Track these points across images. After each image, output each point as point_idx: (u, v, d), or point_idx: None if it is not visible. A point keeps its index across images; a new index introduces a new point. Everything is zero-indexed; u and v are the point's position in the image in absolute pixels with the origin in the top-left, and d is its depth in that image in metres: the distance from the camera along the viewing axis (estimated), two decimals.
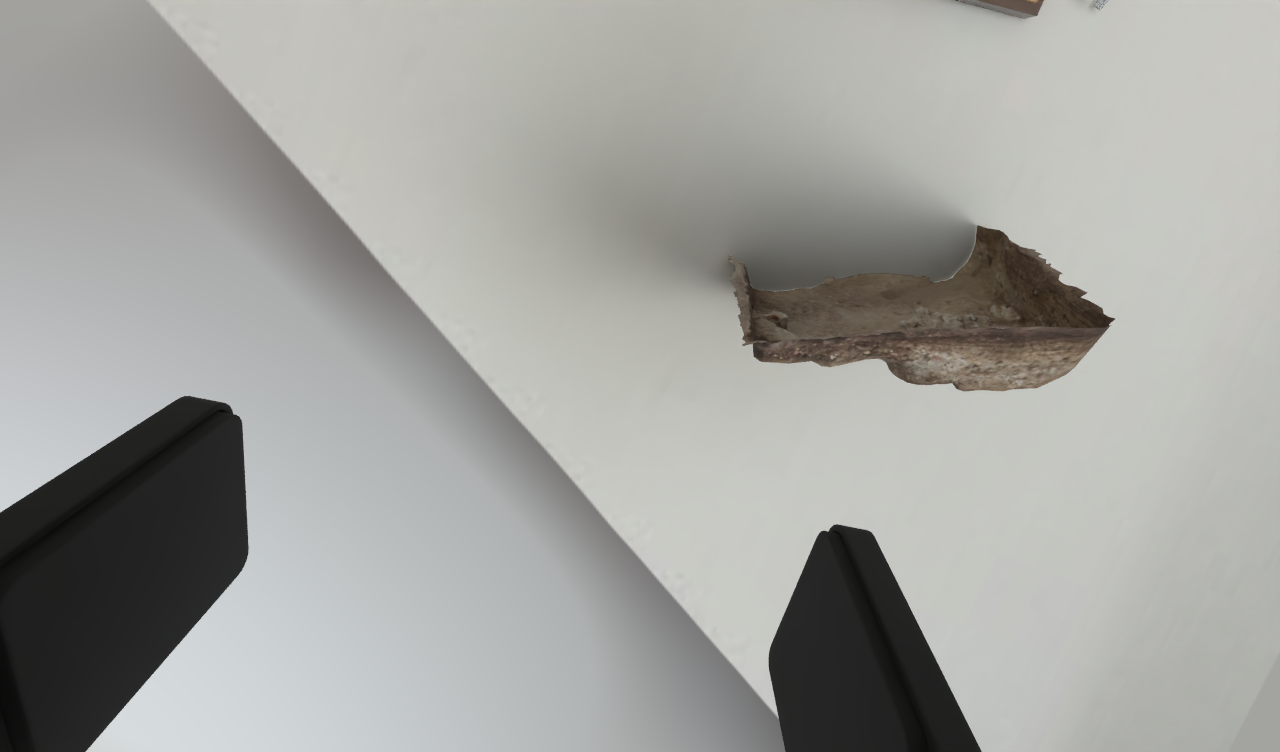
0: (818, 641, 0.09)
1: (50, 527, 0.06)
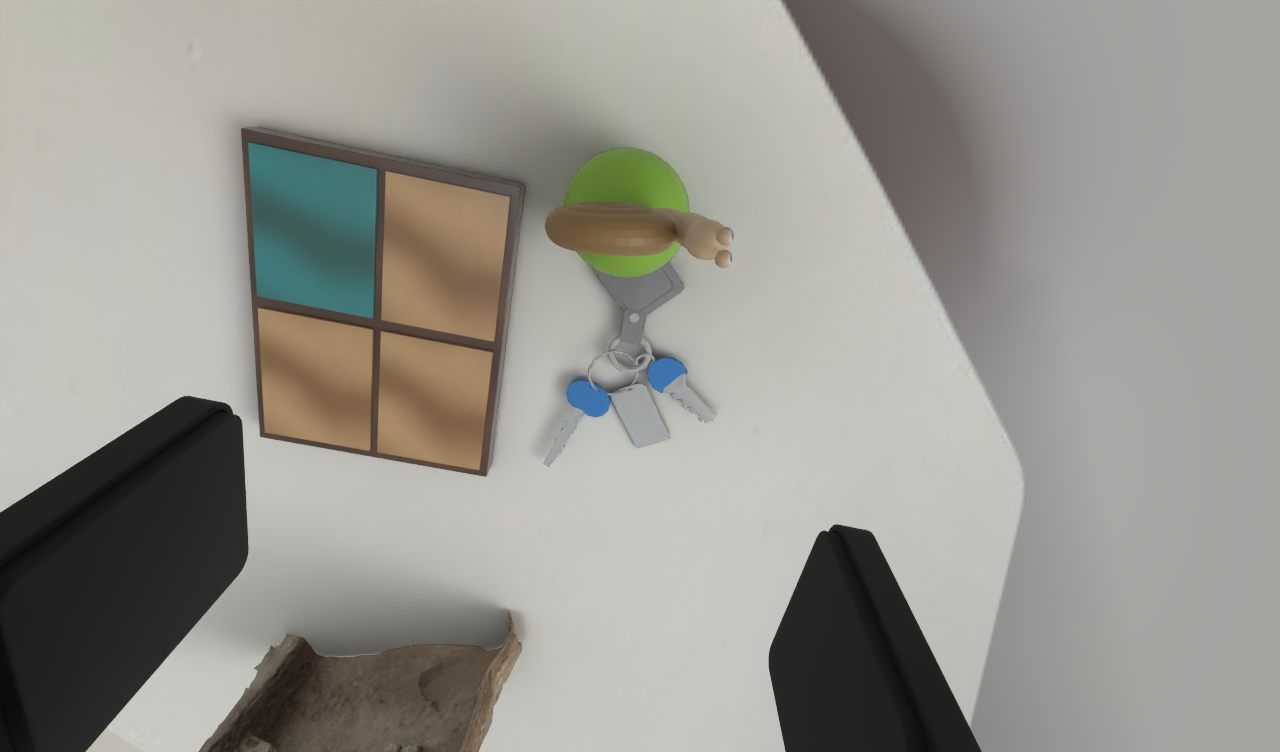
0: (818, 641, 0.09)
1: (50, 527, 0.06)
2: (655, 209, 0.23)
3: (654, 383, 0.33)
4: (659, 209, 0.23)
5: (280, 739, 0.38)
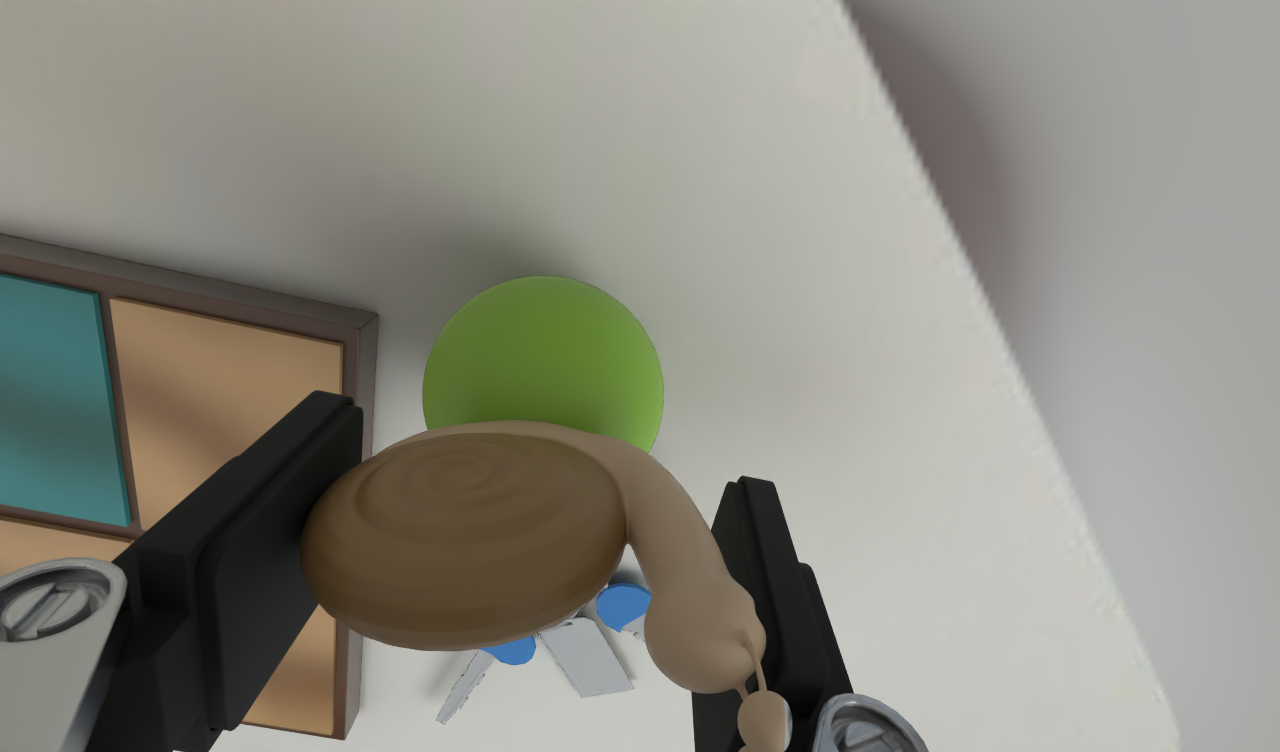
0: None
1: (242, 503, 0.07)
2: (588, 442, 0.11)
3: (607, 618, 0.20)
4: (596, 443, 0.11)
5: None
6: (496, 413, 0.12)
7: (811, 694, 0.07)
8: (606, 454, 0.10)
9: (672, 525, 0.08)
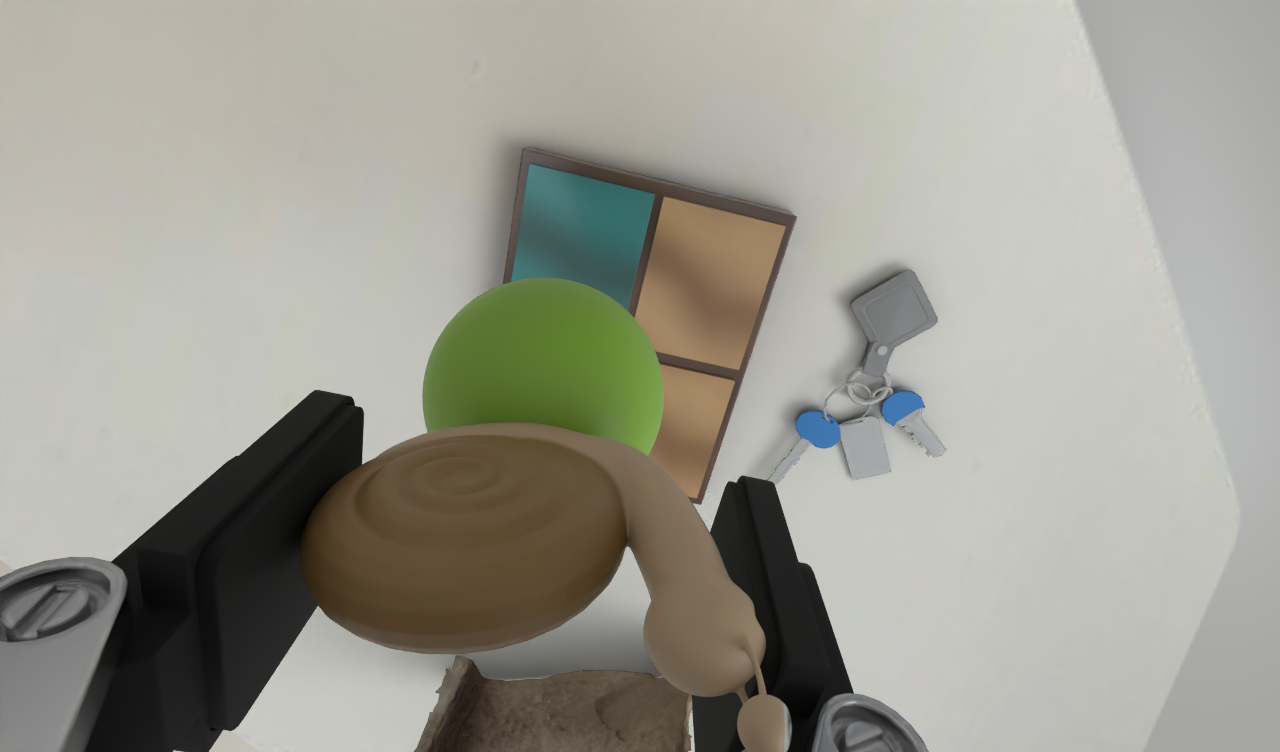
0: None
1: (242, 503, 0.07)
2: (588, 444, 0.11)
3: (888, 416, 0.32)
4: (596, 446, 0.11)
5: None
6: (495, 416, 0.12)
7: (811, 694, 0.07)
8: (606, 456, 0.10)
9: (672, 528, 0.08)
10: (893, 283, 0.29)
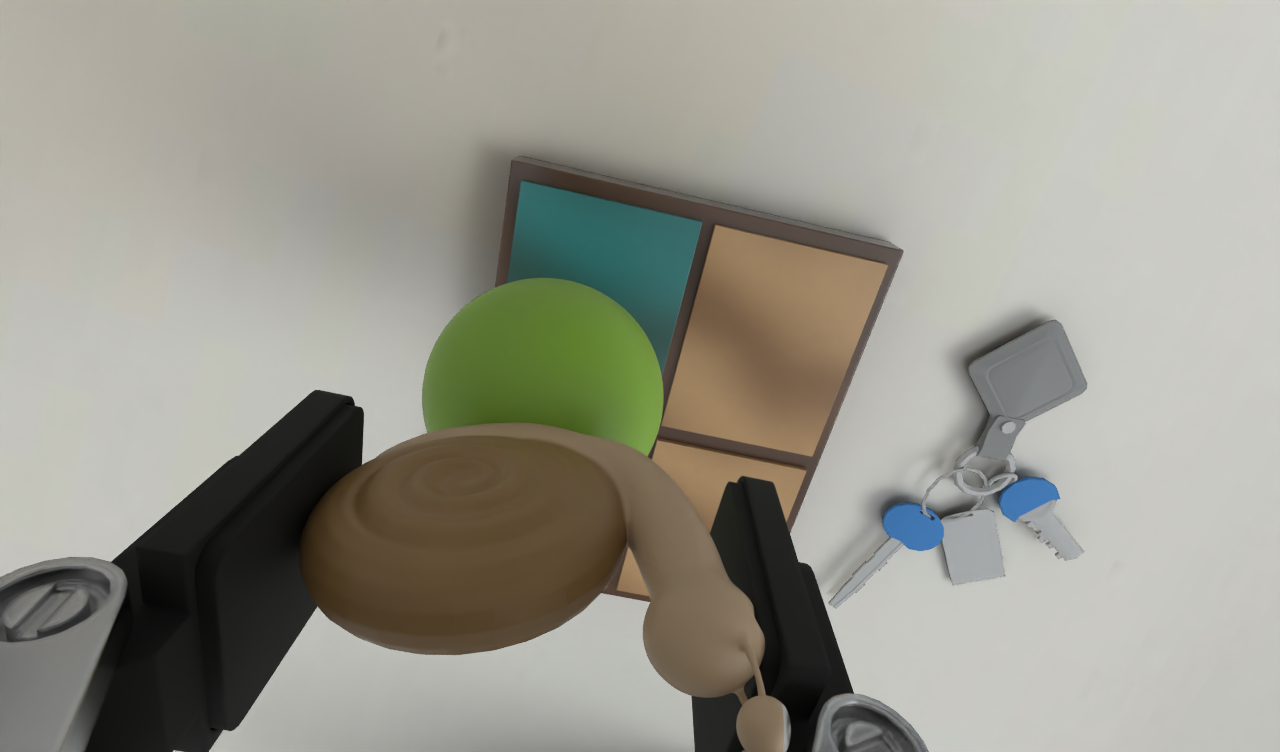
0: None
1: (241, 503, 0.07)
2: (587, 445, 0.11)
3: (1008, 509, 0.24)
4: (596, 446, 0.11)
5: None
6: (495, 416, 0.12)
7: (811, 694, 0.07)
8: (605, 457, 0.10)
9: (671, 529, 0.08)
10: (1030, 339, 0.21)
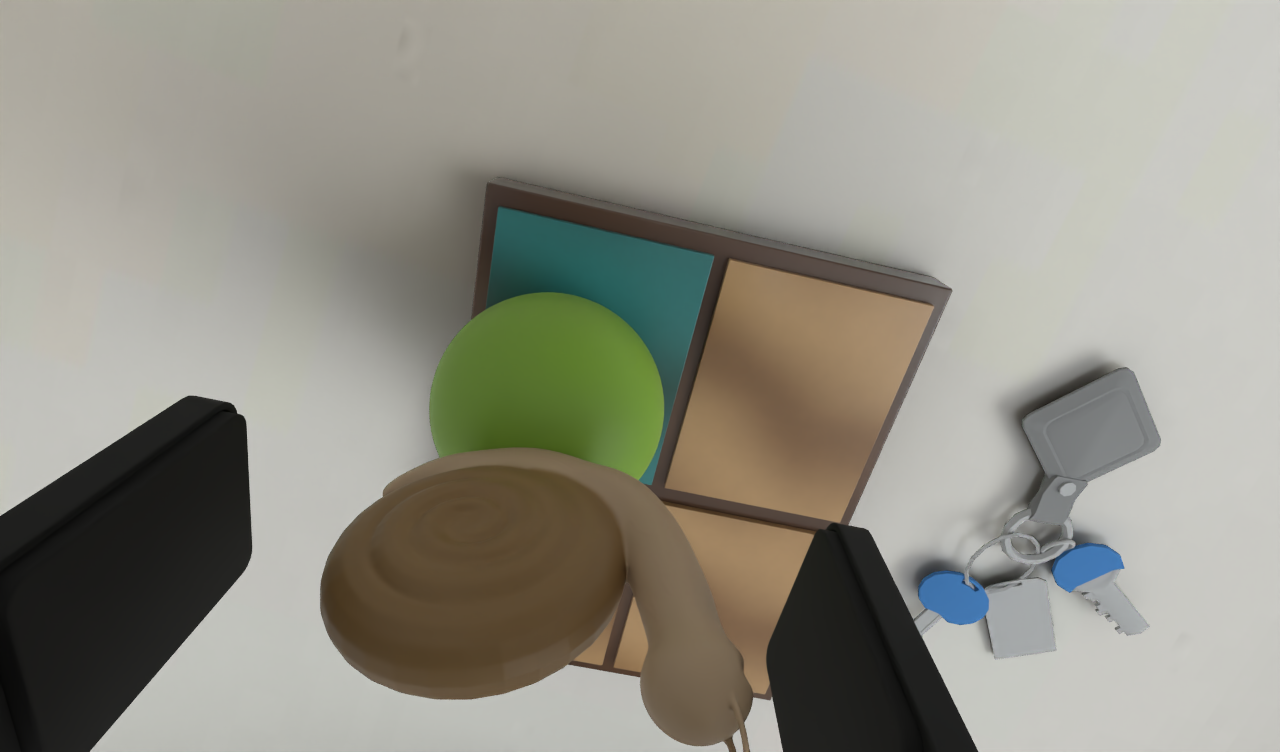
0: (815, 639, 0.09)
1: (57, 526, 0.06)
2: (589, 475, 0.11)
3: (1063, 579, 0.21)
4: (597, 477, 0.11)
5: None
6: (500, 440, 0.12)
7: None
8: (607, 489, 0.11)
9: (668, 576, 0.09)
10: (1097, 389, 0.18)
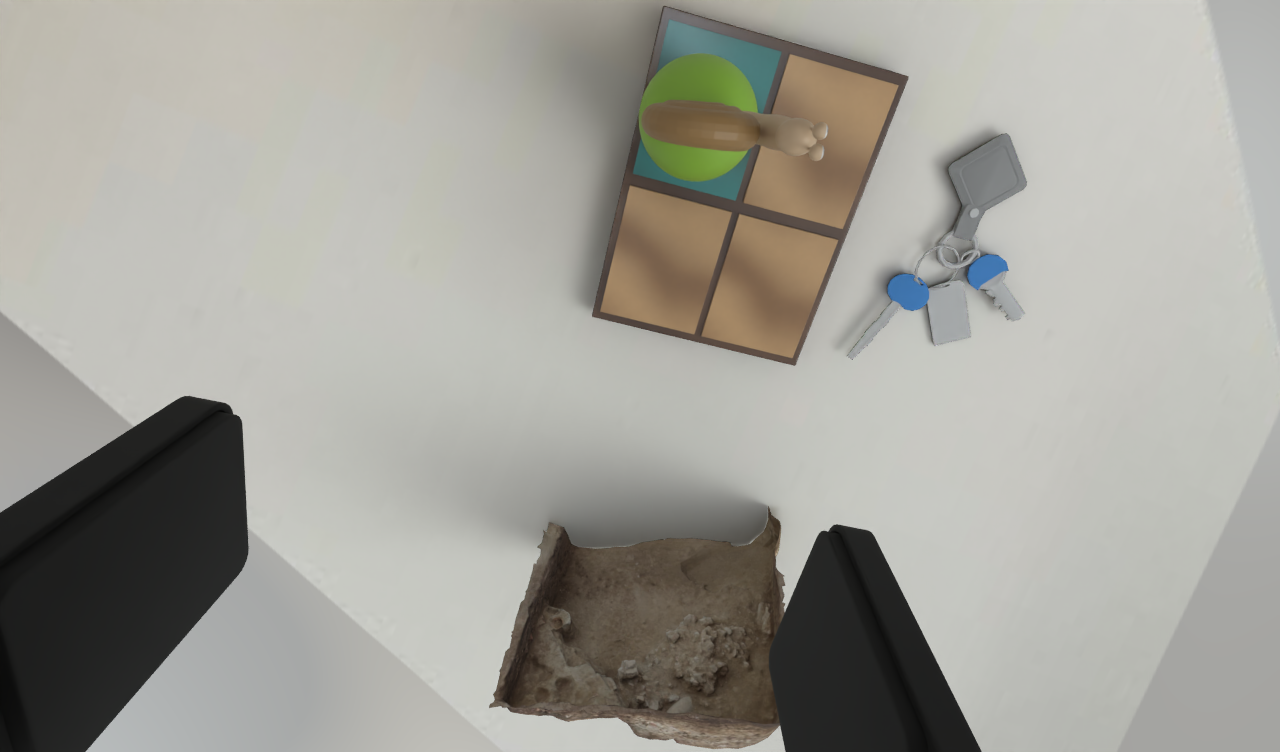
0: (818, 641, 0.09)
1: (50, 527, 0.06)
2: None
3: (973, 279, 0.35)
4: None
5: None
6: None
7: None
8: None
9: (781, 117, 0.23)
10: (989, 146, 0.32)
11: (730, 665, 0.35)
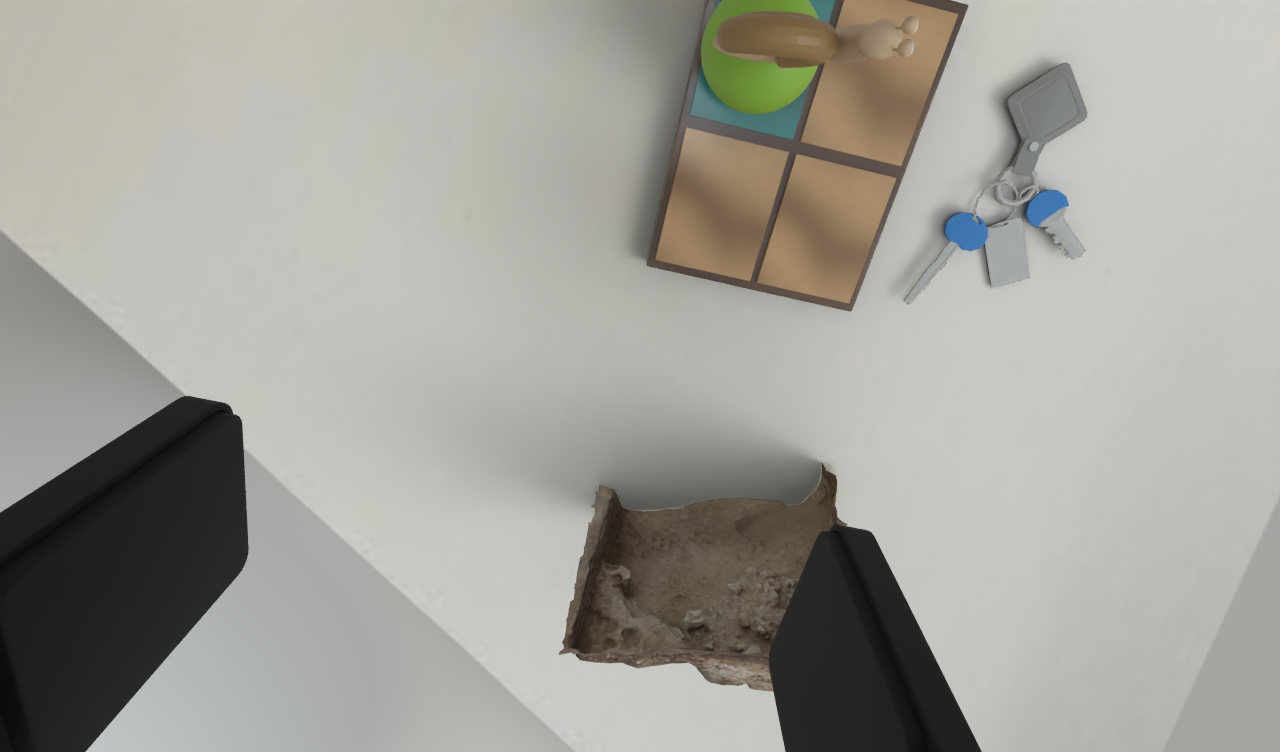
0: (818, 641, 0.09)
1: (50, 527, 0.06)
2: None
3: (1032, 217, 0.35)
4: None
5: None
6: None
7: None
8: None
9: (861, 24, 0.23)
10: (1049, 76, 0.32)
11: None
